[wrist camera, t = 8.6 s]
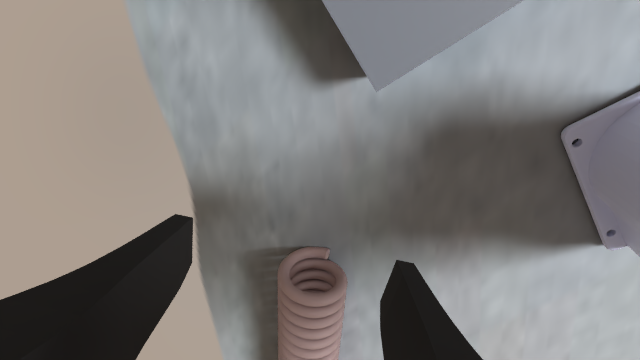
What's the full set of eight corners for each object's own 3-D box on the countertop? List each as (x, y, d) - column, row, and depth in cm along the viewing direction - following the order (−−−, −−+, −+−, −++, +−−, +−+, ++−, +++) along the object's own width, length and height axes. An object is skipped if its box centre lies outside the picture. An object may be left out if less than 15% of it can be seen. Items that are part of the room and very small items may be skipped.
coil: (332, 449, 29) (352, 294, 20) (276, 449, 29) (273, 292, 20) (329, 392, 33) (345, 244, 25) (280, 392, 33) (280, 242, 24)
